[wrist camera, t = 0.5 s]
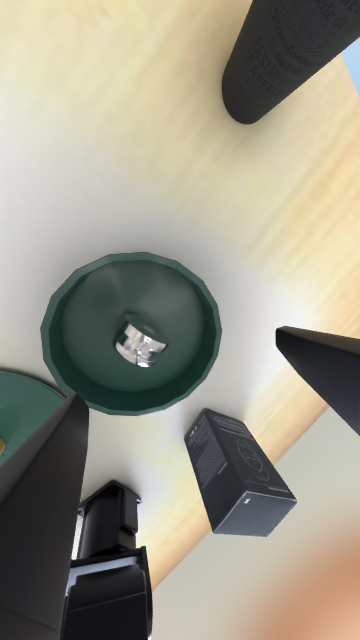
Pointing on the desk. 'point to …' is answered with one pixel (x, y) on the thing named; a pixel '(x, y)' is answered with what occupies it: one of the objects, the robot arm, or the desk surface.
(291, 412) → the desk surface
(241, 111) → the drinking cup
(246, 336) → the desk surface
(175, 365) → the tin
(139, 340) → the grooved metal pulley
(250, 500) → the box
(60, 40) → the desk surface
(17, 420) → the tin lid
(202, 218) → the desk surface
